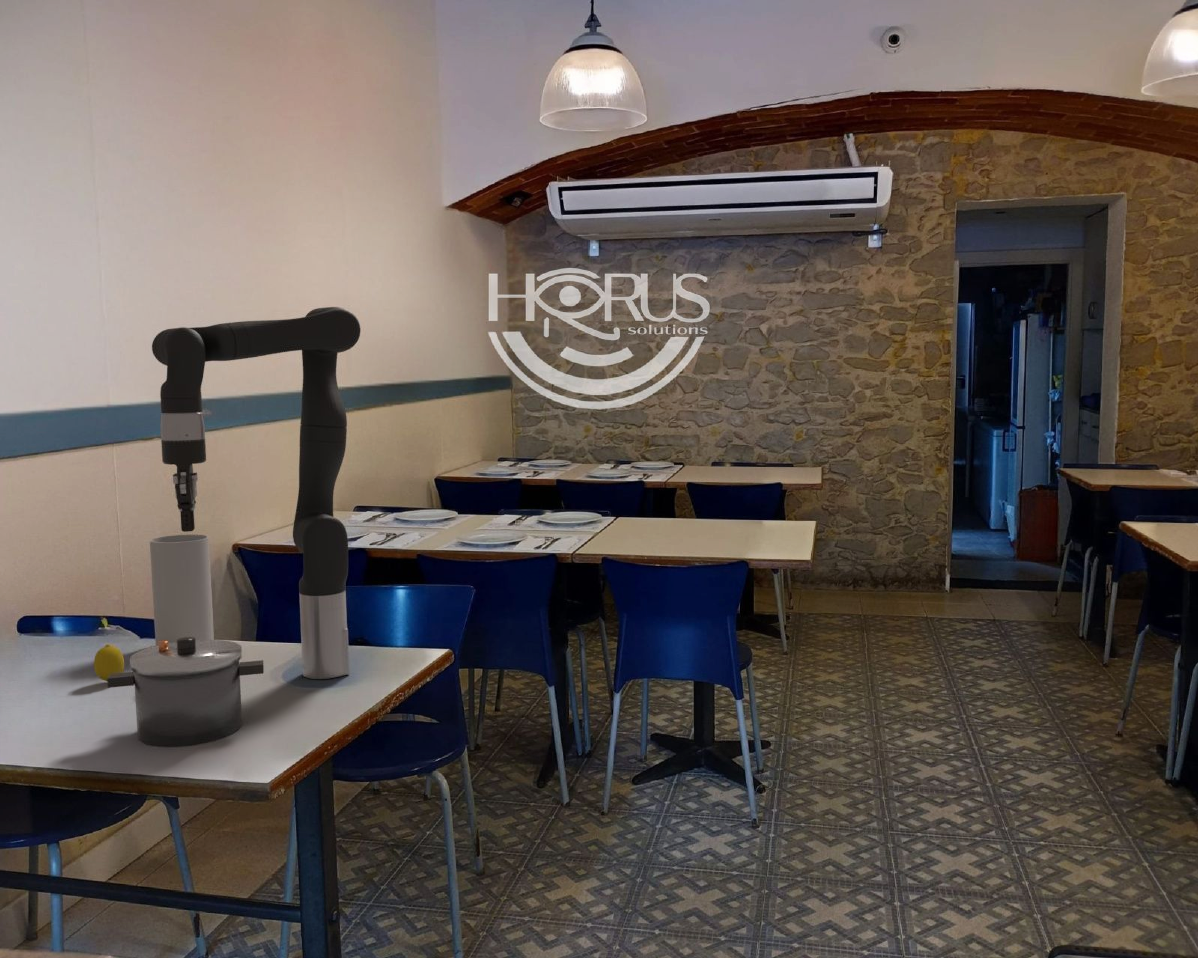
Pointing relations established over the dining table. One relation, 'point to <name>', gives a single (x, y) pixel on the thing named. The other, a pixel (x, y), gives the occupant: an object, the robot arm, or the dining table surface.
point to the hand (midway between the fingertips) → (188, 530)
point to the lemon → (108, 662)
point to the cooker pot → (187, 704)
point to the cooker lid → (185, 657)
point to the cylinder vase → (181, 587)
